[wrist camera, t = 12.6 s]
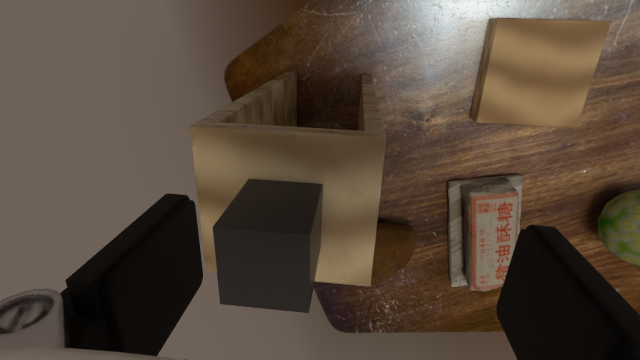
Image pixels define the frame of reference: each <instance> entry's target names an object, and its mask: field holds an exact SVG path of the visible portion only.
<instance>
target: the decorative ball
mask: <svg viewBox="0 0 640 360" xmlns="http://www.w3.org/2000/svg"><path fill="white" fill-rule="evenodd" d="M598 232H599V236H600V238H601V240H602V241H603V243H604V245H605V246H606V248H607V249H608V250H609V251H610V252H612V253H613V254H614V255H616V256H617V257H619V258H620V259H622V260H624V261H626V262H629V263H632V264H635V265H638V266H640V190H633V191H629V192H626V193H622V194H620V195H618V196H616V197H615V198H613V199H612V200H611V201H609V202H608V203H607V204H606V205H605V207H604V208H603V210H602V212H601V214H600V215H599V217H598Z"/></svg>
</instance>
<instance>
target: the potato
mask: <svg viewBox="0 0 640 360" xmlns="http://www.w3.org/2000/svg"><path fill="white" fill-rule="evenodd" d="M415 243H416V233H415V231H414V230H413V229H412V228H411V226H409V225H404V224H393V223H377V230H376V239H375V248H374V258H373V267H372V276H371V283H372V282H377V281H380V280H382V279H384V278H386V277H388V276H389V275H391V274H393V273H395V272H398V271H399V270H401V269H403V268H404V267H405V266H406V265H407V263H408V262H409V260H410V259H411V257H412V253H413V250H414V247H415Z"/></svg>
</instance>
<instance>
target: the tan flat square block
mask: <svg viewBox="0 0 640 360" xmlns="http://www.w3.org/2000/svg"><path fill="white" fill-rule="evenodd" d="M610 23H611V21H587V20H553V19H519V18H492V19H489V23H488V28H487V33H486V38H485V43H484V48H483V53H482V58H481V63H480V68H479V73H478V78H477V83H476V88H475V93H474V98H473V103H472V109H471V114H470V118H471V119H473V120H474V121H475V122H476V123H493V124H512V125H530V126H549V127H568V128H577V125H578V122H579V119H580V116H581V113H582V110H583V107H584V104H585V100H586V97H587V94H588V91H589V88H590V85H591V82H592V79H593V76H594V72H595V69H596V66H597V63H598V60H599V57H600V54H601V51H602V48H603V45H604V41H605V38H606V35H607V32H608V29H609V26H610Z"/></svg>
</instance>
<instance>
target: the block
mask: <svg viewBox="0 0 640 360" xmlns="http://www.w3.org/2000/svg"><path fill="white" fill-rule="evenodd" d="M322 197H323V184H317V183H303V182H288V181H274V180H260V179H248V180H247V182H246V183H245V184H244V186H243V187H242V188H241V190H240V191H239V192H238V194H237V195H236V196H235V198H234V199H233V200H232V202H231V203H230V204H229V206H228V207H227V208H226V210H225V211H224V212H223V214H222V215H221V216H220V218H219V219H218V220H217V222H216V223H215V224H214V226H213V237H214V247H215V257H216V266H217V276H218V285H219V296H220V304H225V305H235V306H246V307H255V308H264V309H274V310H284V311H294V312H304V313H308V312H309V308H310V303H311V297H312V292H313V287H314V281H315V276H316V270H317V265H318V259H319V254H320V248H321V224H322Z"/></svg>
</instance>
